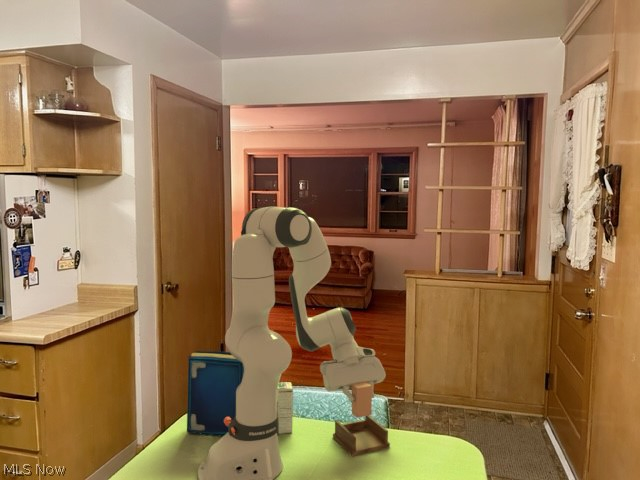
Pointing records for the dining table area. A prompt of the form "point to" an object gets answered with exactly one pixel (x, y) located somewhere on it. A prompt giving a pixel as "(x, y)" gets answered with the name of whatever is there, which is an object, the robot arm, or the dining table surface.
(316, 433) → the dining table surface
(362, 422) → the walnut slot rack
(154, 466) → the dining table surface
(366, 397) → the terracotta block
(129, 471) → the dining table surface
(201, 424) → the book
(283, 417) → the syrup box
